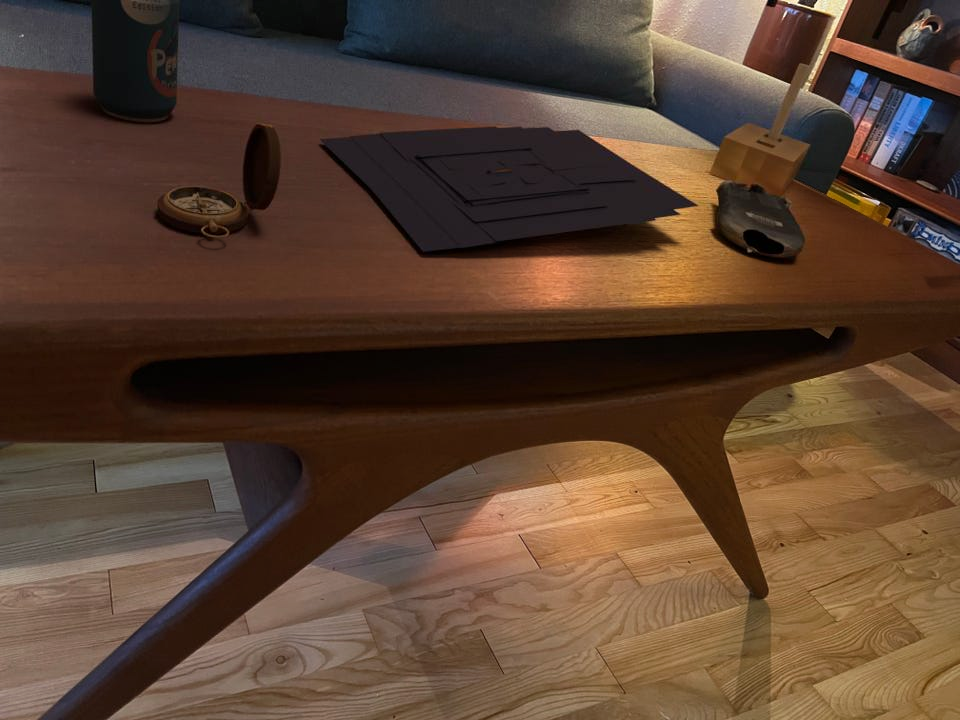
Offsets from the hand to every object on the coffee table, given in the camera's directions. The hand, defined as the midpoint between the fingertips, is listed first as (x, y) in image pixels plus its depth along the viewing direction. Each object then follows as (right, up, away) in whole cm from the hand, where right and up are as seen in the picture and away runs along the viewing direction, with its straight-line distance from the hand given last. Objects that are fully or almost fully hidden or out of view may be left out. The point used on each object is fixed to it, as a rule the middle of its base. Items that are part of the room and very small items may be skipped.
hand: (821, 22), depth 99 cm
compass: (-63, -33, -43) cm, 83 cm away
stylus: (-5, -17, +10) cm, 20 cm away
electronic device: (-14, -29, -15) cm, 36 cm away
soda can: (-75, -20, -27) cm, 83 cm away
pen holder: (-6, -18, +8) cm, 20 cm away
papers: (-41, -27, -23) cm, 55 cm away
